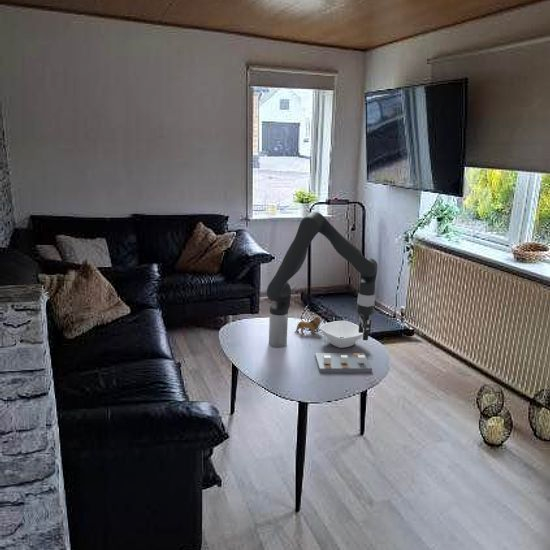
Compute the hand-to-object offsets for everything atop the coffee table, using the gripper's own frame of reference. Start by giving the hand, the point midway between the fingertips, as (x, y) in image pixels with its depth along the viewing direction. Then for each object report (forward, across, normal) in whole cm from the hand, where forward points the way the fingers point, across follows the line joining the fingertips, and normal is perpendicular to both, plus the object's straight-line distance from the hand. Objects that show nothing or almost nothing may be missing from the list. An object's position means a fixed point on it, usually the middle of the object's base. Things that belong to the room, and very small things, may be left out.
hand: (363, 336), depth 227 cm
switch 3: (+13, 0, 0) cm, 13 cm away
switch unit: (+15, -3, -8) cm, 18 cm away
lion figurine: (+16, -41, -20) cm, 48 cm away
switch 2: (+13, 0, -8) cm, 15 cm away
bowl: (+16, -26, -4) cm, 30 cm away
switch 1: (+13, 0, -16) cm, 21 cm away
